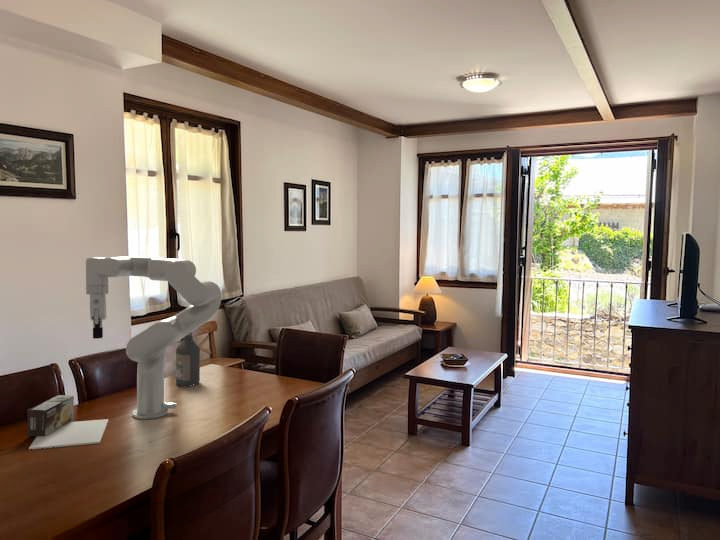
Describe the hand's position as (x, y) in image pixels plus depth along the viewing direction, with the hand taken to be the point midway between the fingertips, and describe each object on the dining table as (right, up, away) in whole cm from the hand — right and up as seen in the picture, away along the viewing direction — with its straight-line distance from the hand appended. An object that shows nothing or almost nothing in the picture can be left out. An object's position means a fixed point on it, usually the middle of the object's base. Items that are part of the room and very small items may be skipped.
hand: (97, 337), depth 199 cm
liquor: (+20, -27, +43) cm, 54 cm away
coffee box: (-7, -24, -10) cm, 27 cm away
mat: (+2, -30, -21) cm, 37 cm away
